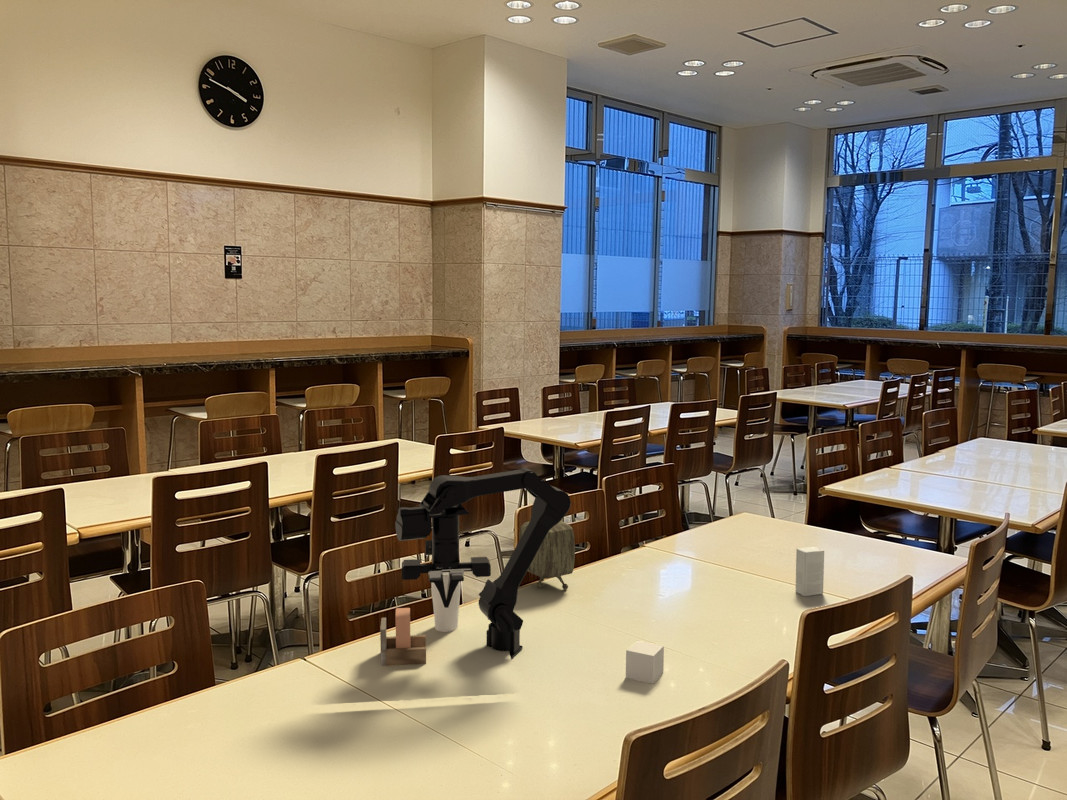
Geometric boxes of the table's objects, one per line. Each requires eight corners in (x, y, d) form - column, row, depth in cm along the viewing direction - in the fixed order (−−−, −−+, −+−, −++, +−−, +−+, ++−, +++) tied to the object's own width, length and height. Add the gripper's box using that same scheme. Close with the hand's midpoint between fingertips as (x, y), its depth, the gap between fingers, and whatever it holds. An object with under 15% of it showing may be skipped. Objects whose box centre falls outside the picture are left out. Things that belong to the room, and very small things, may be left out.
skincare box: (813, 589, 237) (815, 546, 235) (823, 594, 233) (825, 550, 231) (794, 591, 235) (795, 548, 233) (803, 596, 231) (805, 552, 229)
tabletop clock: (574, 590, 235) (575, 499, 232) (547, 596, 230) (547, 503, 227) (543, 576, 247) (544, 489, 244) (516, 582, 242) (516, 493, 239)
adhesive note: (653, 684, 178) (653, 656, 177) (625, 678, 181) (626, 650, 180) (663, 673, 183) (663, 645, 183) (636, 667, 186) (637, 640, 185)
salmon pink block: (410, 652, 190) (409, 607, 189) (410, 661, 185) (409, 615, 184) (396, 652, 190) (395, 608, 189) (396, 662, 185) (395, 616, 184)
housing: (430, 654, 192) (429, 614, 191) (431, 669, 185) (430, 628, 184) (382, 656, 191) (381, 616, 190) (380, 672, 183) (380, 630, 182)
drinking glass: (456, 639, 201) (455, 575, 199) (428, 637, 202) (427, 573, 201) (464, 628, 208) (464, 567, 206) (437, 626, 209) (436, 565, 207)
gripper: (486, 524, 195) (486, 592, 197) (401, 527, 193) (402, 596, 194) (490, 538, 184) (491, 610, 186) (401, 541, 182) (402, 614, 183)
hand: (446, 607), depth 188 cm, fingers closed
